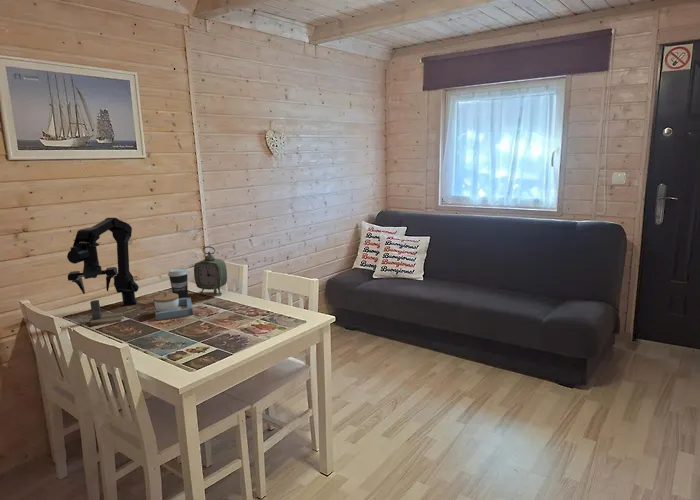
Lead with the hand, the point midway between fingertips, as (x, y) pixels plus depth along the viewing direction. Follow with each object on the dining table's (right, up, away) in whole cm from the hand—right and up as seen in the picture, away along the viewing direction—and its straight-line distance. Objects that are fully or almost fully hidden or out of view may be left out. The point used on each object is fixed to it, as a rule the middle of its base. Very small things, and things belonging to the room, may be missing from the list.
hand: (96, 292), depth 208 cm
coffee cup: (+27, -6, +29) cm, 40 cm away
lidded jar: (+28, -10, +9) cm, 31 cm away
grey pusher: (+4, -13, +3) cm, 14 cm away
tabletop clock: (+41, -4, +37) cm, 55 cm away
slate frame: (+31, -10, +11) cm, 34 cm away
